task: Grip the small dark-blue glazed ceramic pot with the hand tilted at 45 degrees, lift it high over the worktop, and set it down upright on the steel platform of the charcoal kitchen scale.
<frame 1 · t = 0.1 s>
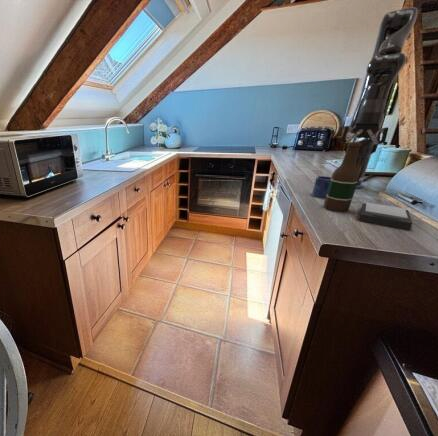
hand: (358, 153, 104), 17 cm above the countertop, tool pointing down, fingers open, 8 cm apart
blue pot: (320, 195, 106), on the countertop
beer bottle: (335, 209, 92), on the countertop
kitchen scale: (382, 218, 82), on the countertop
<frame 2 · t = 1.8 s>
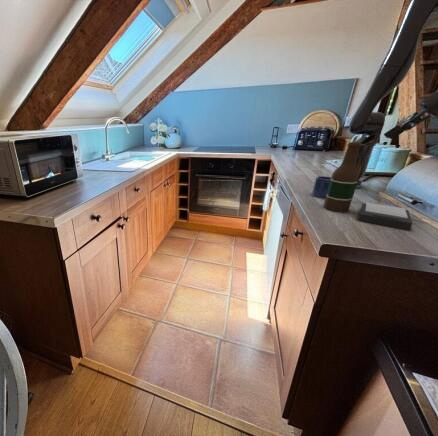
hand: (387, 136, 89), 25 cm above the countertop, tool tilted 40°, fingers open, 8 cm apart
nothing on the countertop moved.
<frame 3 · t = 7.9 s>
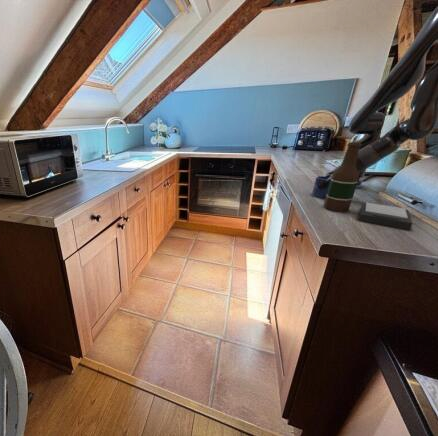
hand: (318, 185, 105), 4 cm above the countertop, tool tilted 45°, fingers closed on blue pot, 6 cm apart
blue pot: (320, 195, 106), on the countertop, touching gripper
everything else where it was.
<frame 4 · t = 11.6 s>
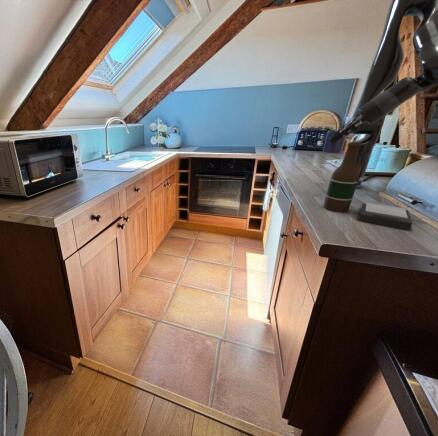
hand: (330, 140, 98), 23 cm above the countertop, tool tilted 45°, fingers closed on blue pot, 6 cm apart
blue pot: (332, 151, 99), point 19 cm above the countertop, touching gripper
everything else where it was.
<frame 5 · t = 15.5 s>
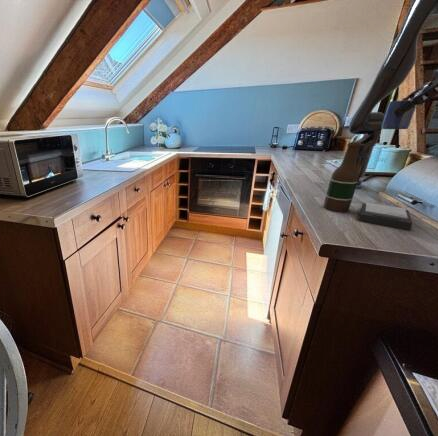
hand: (392, 114, 76), 33 cm above the countertop, tool tilted 45°, fingers closed on blue pot, 6 cm apart
blue pot: (394, 128, 77), point 28 cm above the countertop, touching gripper
everything else where it was.
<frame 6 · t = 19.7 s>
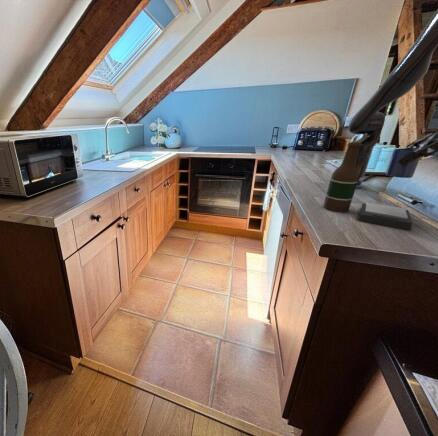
hand: (396, 161, 76), 19 cm above the countertop, tool tilted 45°, fingers closed on blue pot, 6 cm apart
blue pot: (398, 175, 77), point 14 cm above the countertop, touching gripper
everything else where it was.
when the fingers open (7 cm above the countertop, at t = 23.3 s): blue pot stays where it is, resting on kitchen scale.
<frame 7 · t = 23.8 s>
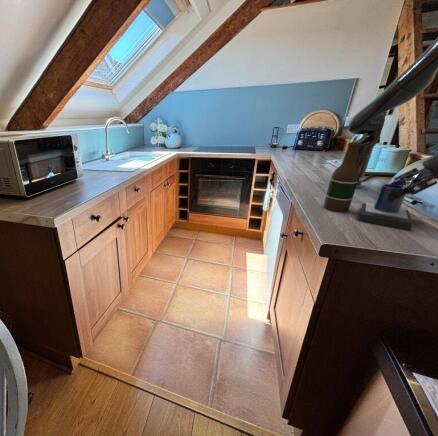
hand: (385, 194, 80), 8 cm above the countertop, tool tilted 45°, fingers open, 8 cm apart
blue pot: (385, 209, 81), point 3 cm above the countertop, touching kitchen scale
everything else where it was.
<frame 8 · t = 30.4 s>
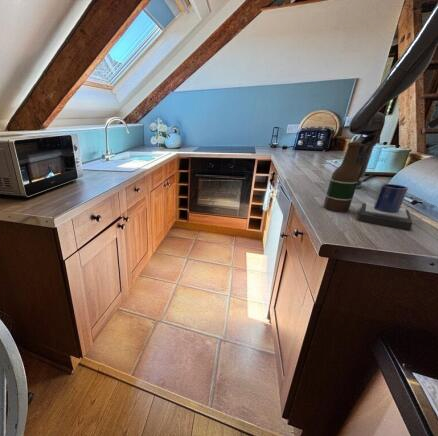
hand: (434, 126, 76), 29 cm above the countertop, tool tilted 45°, fingers open, 8 cm apart
nothing on the countertop moved.
at the end: blue pot inside the target area on the kitchen scale (0.2 cm from its centre), point 3.0 cm above the kitchen scale's base; blue pot tilted 0°; the gripper is holding nothing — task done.
